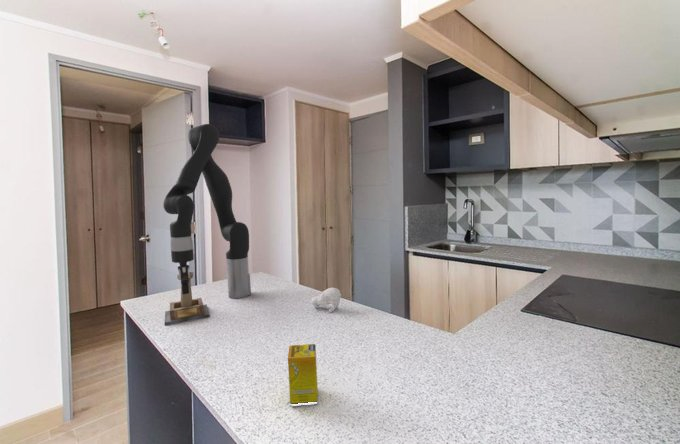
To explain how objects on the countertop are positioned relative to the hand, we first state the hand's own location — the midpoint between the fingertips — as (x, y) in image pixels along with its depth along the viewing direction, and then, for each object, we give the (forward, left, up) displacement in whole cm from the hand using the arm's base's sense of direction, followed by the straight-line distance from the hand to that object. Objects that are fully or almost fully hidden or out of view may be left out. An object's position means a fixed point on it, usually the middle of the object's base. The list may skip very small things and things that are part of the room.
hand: (185, 290), depth 124 cm
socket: (0, 0, -10) cm, 10 cm away
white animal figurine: (-48, +22, -10) cm, 54 cm away
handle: (0, 0, -9) cm, 9 cm away
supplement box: (-21, +70, -10) cm, 74 cm away
